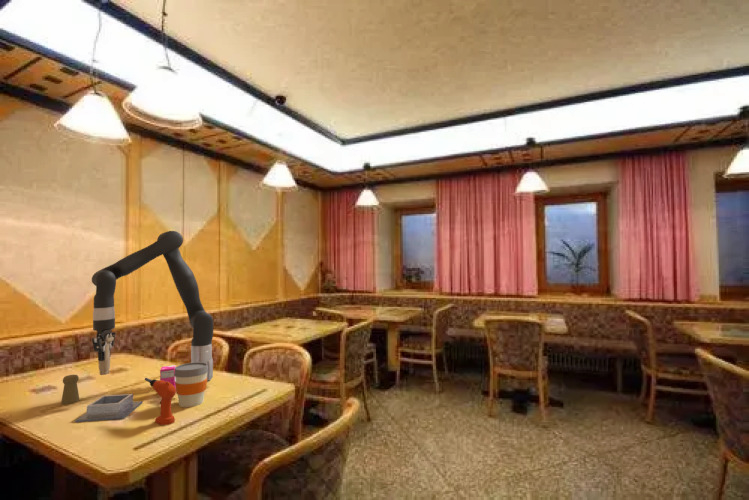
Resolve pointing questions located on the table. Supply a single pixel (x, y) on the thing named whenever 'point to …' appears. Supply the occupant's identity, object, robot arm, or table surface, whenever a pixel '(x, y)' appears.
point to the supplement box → (168, 374)
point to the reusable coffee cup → (191, 383)
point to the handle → (105, 364)
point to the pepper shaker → (70, 390)
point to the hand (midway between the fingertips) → (104, 359)
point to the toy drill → (164, 400)
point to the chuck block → (110, 408)
